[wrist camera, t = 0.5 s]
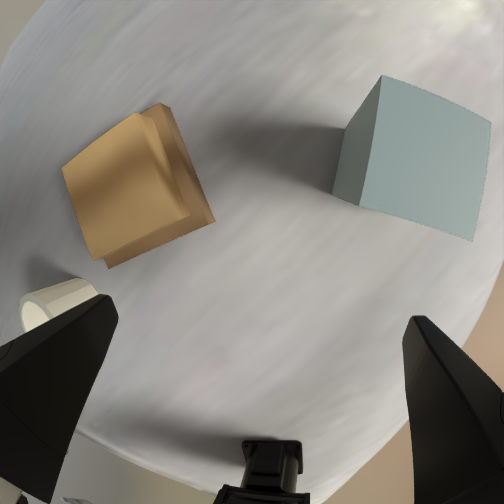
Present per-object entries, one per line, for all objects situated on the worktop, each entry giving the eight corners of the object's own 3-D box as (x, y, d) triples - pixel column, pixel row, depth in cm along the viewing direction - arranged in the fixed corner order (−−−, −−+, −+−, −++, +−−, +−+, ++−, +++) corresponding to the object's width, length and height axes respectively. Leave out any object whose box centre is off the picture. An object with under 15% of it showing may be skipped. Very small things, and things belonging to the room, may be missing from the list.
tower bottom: (218, 220, 23) (207, 224, 20) (124, 261, 25) (108, 269, 23) (173, 109, 21) (159, 102, 19) (88, 164, 24) (71, 164, 21)
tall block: (395, 212, 19) (472, 241, 9) (331, 195, 20) (359, 206, 9) (408, 147, 18) (491, 121, 7) (344, 128, 19) (381, 74, 8)
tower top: (190, 215, 20) (175, 220, 18) (111, 253, 22) (93, 261, 20) (152, 118, 19) (135, 112, 17) (81, 168, 21) (61, 168, 19)
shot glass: (64, 318, 28) (23, 344, 21) (61, 263, 26) (13, 283, 19) (108, 342, 27) (68, 376, 20) (108, 284, 25) (59, 312, 18)
